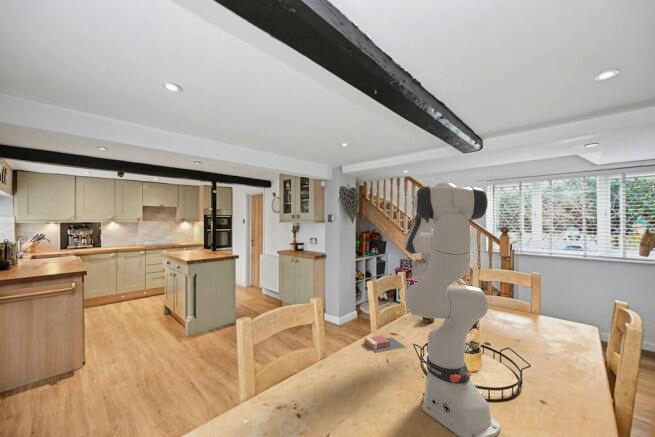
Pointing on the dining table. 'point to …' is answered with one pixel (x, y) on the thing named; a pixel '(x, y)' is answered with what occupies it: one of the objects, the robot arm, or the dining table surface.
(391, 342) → the mat
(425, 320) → the food container
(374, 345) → the card box
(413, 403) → the dining table surface
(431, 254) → the robot arm
